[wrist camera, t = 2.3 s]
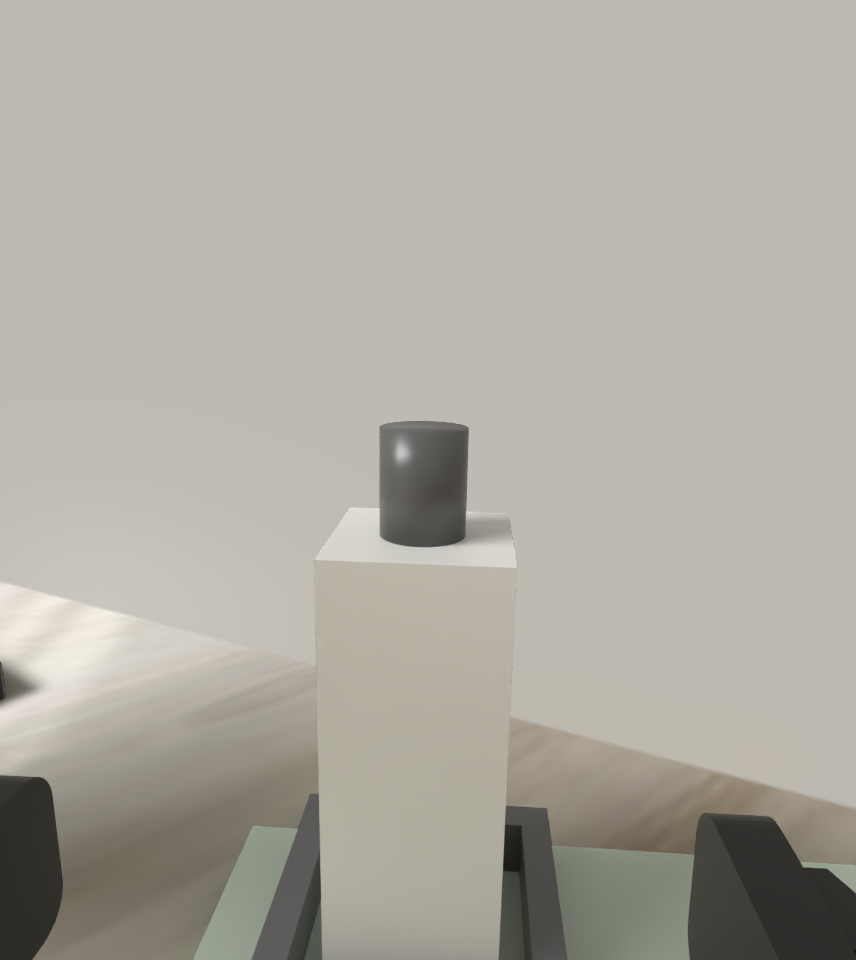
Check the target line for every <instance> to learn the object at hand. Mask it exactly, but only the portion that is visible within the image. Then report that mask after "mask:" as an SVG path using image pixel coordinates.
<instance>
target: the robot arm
mask: <svg viewBox="0 0 856 960" xmlns="http://www.w3.org/2000/svg"><path fill="white" fill-rule="evenodd" d="M62 888H63V882H62V872H61V863H60V855H59V847H58V838H57V830H56V822H55V813H54V805H53V797H52V791H51V788H50V785H49V784H48V782H47V781H46V780H45V779H43V778H41V777H23V776H3V775H0V960H32V959H33V958H34V956H35V955H36V953H37V952H38V951H39V949H40V948H41V946H42V945H43V944H44V942H45V940H46V939H47V937H48V935H49V933H50V932H51V930H52V927H53V925H54V923H55V920H56V917H57V914H58V911H59V907H60V903H61V898H62ZM688 946H689V956H690V960H856V893H855V892H854V891H853V890H852V889H850V888H849V887H848V886H847V885H846V884H845V883H843V882H842V881H841V880H840V879H839V878H838V877H836V876H835V875H834V874H833V873H832V872H831V871H829V870H828V869H826V868H808V867H803V866H802V864H801V862H800V861H799V859H798V857H797V856H796V854H795V853H794V851H793V849H792V848H791V846H790V844H789V843H788V841H787V839H786V838H785V836H784V834H783V833H782V831H781V829H780V828H779V826H778V825H777V823H776V822H775V821H774V820H773V819H772V818H770V817H767V816H750V815H730V814H710V813H704V814H702V815H701V816H700V818H699V821H698V825H697V833H696V843H695V853H694V864H693V874H692V884H691V895H690V905H689V915H688Z"/></svg>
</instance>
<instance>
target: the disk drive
mask: <svg viewBox="0 0 856 960" xmlns="http://www.w3.org/2000/svg"><path fill="white" fill-rule="evenodd" d="M5 697H6V693H5V685H4V675H3V670H2V663H1V662H0V700H1V699H4V698H5Z"/></svg>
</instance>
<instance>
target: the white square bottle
mask: <svg viewBox="0 0 856 960" xmlns="http://www.w3.org/2000/svg"><path fill="white" fill-rule="evenodd" d="M468 434H469V428H468V427H466V426H464V425H460V424H455V423H447V422H434V421H405V422H394V423H388V424H384V425H381V426H380V508H349V510H348V511H347V513H346V514H345V516H344V517H343V518H342V520H341V521H340V523H339V524H338V526H337V527H336V529H335V530H334V532H333V533H332V535H331V536H330V537H329V539H328V540H327V542H326V543H325V545H324V546H323V548H322V549H321V550H320V552H319V553H318V555H317V556H316V558H315V559H314V585H315V630H316V631H315V633H316V681H317V729H318V776H319V824H320V872H321V920H322V960H499V940H500V919H501V897H502V876H503V855H504V834H505V812H506V791H507V770H508V749H509V727H510V705H511V684H512V663H513V642H514V641H513V640H514V621H515V600H516V579H517V578H516V577H517V565H516V558H515V551H514V544H513V538H512V531H511V525H510V518H509V513H494V512H467V511H466V501H467V500H466V499H467V468H468Z"/></svg>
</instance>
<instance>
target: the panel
mask: <svg viewBox="0 0 856 960" xmlns="http://www.w3.org/2000/svg"><path fill="white" fill-rule="evenodd" d="M800 862H801V861H800ZM693 864H694V854H679V853H664V852H648V851H633V850H618V849H603V848H587V847H572V846H557V845H552V843H551V836H550V829H549V821H548V814H547V808H531V807H514V806H506V812H505V834H504V855H503V876H502V897H501V919H500V940H499V960H690V956H689V946H688V915H689V905H690V895H691V884H692V874H693ZM801 864H802V866H803V867H808V868H826V869H828V870H829V871H831V872H832V873H833V874H834V875H835V876H836V877H838V878H839V879H840V880H841V881H842V882H843V883H845V884H846V885H847V886H848V887H849V888H850V889H852V890H853V891H854V892H855V893H856V865H847V864H832V863H816V862H801ZM193 960H322V920H321V872H320V824H319V794H310V797H309V799H308V802H307V805H306V808H305V811H304V813H303V816H302V819H301V822H300V825H299V827H298V829H297V828H282V827H267V826H252V828H251V831H250V833H249V835H248V837H247V840H246V842H245V844H244V846H243V848H242V851H241V853H240V855H239V857H238V860H237V862H236V864H235V866H234V869H233V871H232V873H231V875H230V877H229V880H228V882H227V884H226V886H225V889H224V891H223V893H222V895H221V898H220V900H219V902H218V904H217V906H216V909H215V911H214V913H213V915H212V918H211V920H210V922H209V924H208V927H207V929H206V931H205V933H204V935H203V938H202V940H201V942H200V944H199V947H198V949H197V951H196V953H195V956H194V958H193Z"/></svg>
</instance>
